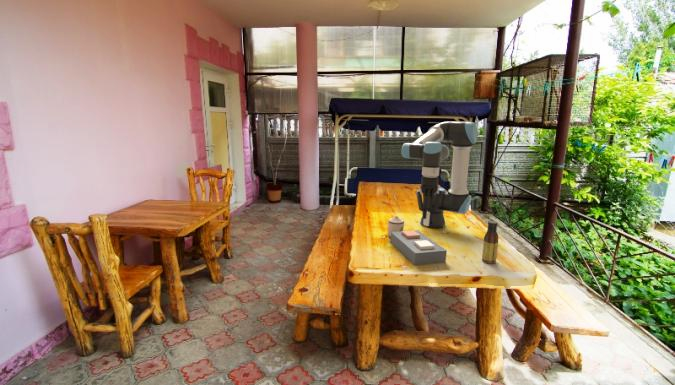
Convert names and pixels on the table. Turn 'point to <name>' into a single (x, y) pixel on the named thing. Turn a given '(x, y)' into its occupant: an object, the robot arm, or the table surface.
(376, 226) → the table surface
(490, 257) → the sauce bottle
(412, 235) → the terracotta key
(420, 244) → the ivory key
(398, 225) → the teacup with lid
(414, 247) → the key box
